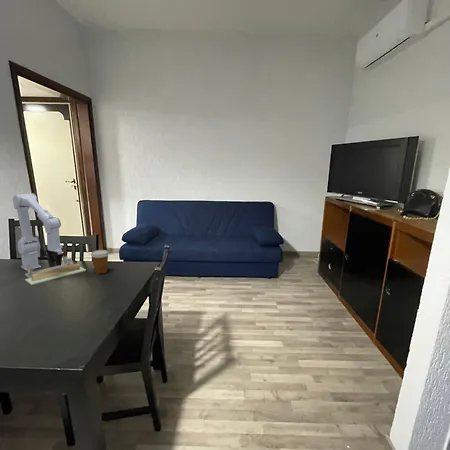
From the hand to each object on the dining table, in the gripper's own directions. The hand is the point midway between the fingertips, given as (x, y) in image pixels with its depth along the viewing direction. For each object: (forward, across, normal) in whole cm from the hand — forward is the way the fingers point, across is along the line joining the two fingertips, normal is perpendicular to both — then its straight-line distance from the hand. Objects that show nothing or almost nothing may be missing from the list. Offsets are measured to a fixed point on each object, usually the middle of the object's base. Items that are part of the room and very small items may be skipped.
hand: (55, 263), depth 158 cm
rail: (+6, 0, 0) cm, 6 cm away
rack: (+7, +9, 0) cm, 12 cm away
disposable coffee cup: (+7, -13, -19) cm, 24 cm away
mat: (+7, 0, 0) cm, 7 cm away
